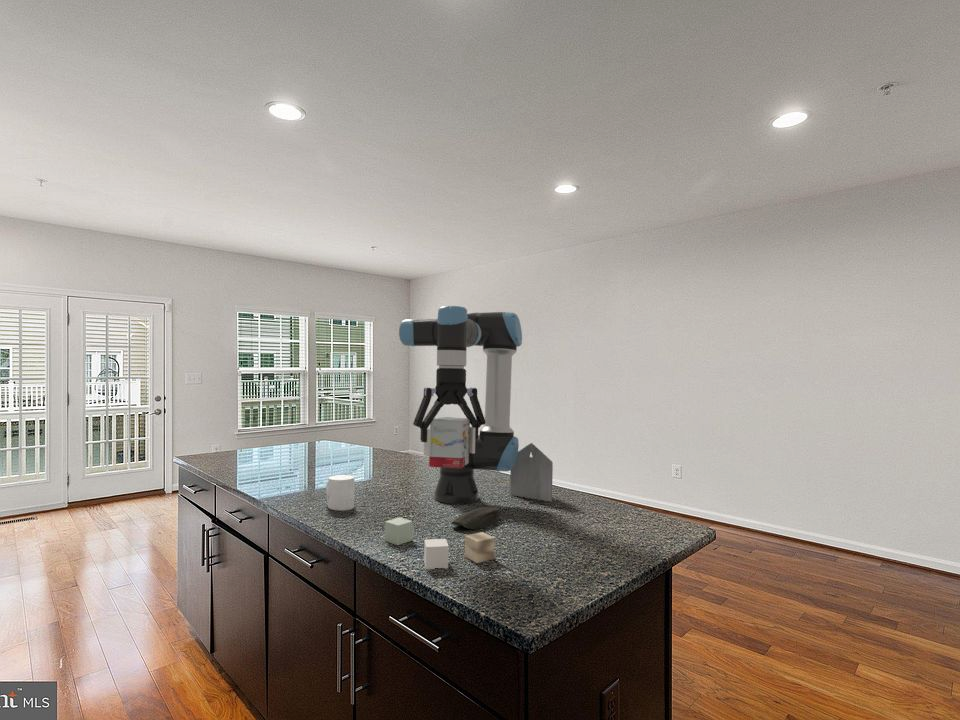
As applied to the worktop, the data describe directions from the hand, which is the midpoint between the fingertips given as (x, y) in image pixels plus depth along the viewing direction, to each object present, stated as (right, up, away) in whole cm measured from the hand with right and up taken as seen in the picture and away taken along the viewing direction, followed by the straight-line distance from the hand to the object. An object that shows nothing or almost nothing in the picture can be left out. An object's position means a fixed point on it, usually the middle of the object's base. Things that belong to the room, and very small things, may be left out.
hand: (449, 454), depth 128 cm
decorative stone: (+7, -24, +19) cm, 31 cm away
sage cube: (-13, -23, +3) cm, 27 cm away
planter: (+27, -25, +52) cm, 64 cm away
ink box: (0, -3, 0) cm, 3 cm away
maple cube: (+7, -23, -8) cm, 26 cm away
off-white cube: (-2, -23, -13) cm, 26 cm away
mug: (-38, -23, +35) cm, 56 cm away
